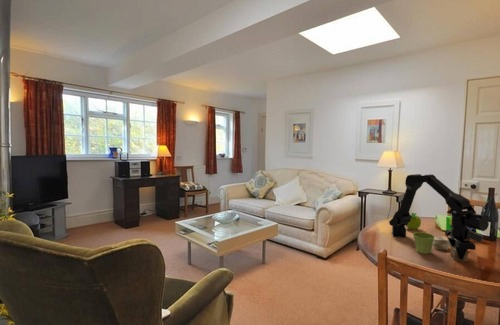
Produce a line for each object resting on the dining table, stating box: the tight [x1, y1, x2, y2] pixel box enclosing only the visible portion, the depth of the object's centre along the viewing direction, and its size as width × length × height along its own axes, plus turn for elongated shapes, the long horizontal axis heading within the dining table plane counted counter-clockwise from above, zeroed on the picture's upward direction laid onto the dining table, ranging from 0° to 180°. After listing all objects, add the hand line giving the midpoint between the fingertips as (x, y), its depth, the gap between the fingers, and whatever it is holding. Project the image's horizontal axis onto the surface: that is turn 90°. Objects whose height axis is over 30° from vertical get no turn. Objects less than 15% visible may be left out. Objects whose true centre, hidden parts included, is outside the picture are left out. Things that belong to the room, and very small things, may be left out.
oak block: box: [432, 235, 449, 251], centre depth 136 cm, size 6×6×5 cm
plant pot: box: [412, 231, 436, 255], centre depth 131 cm, size 9×9×9 cm
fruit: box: [405, 212, 422, 231], centre depth 166 cm, size 9×9×10 cm
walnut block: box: [450, 246, 469, 263], centre depth 122 cm, size 5×5×5 cm
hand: (458, 256), depth 122 cm, fingers closed on walnut block, 5 cm apart
